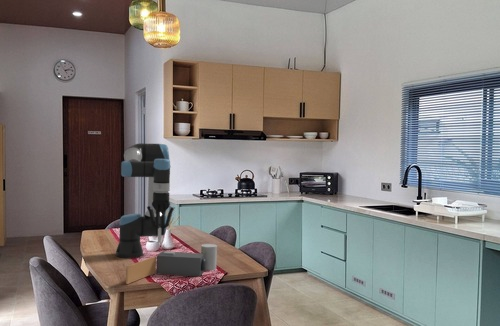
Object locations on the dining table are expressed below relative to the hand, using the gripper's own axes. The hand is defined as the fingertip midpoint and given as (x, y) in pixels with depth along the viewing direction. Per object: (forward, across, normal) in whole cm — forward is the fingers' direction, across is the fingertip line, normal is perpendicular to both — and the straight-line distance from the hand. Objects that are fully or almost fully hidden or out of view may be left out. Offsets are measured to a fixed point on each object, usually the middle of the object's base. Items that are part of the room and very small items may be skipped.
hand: (160, 241), depth 220 cm
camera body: (+19, +6, +15) cm, 25 cm away
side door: (+18, -9, 0) cm, 20 cm away
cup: (+19, +18, +26) cm, 37 cm away
